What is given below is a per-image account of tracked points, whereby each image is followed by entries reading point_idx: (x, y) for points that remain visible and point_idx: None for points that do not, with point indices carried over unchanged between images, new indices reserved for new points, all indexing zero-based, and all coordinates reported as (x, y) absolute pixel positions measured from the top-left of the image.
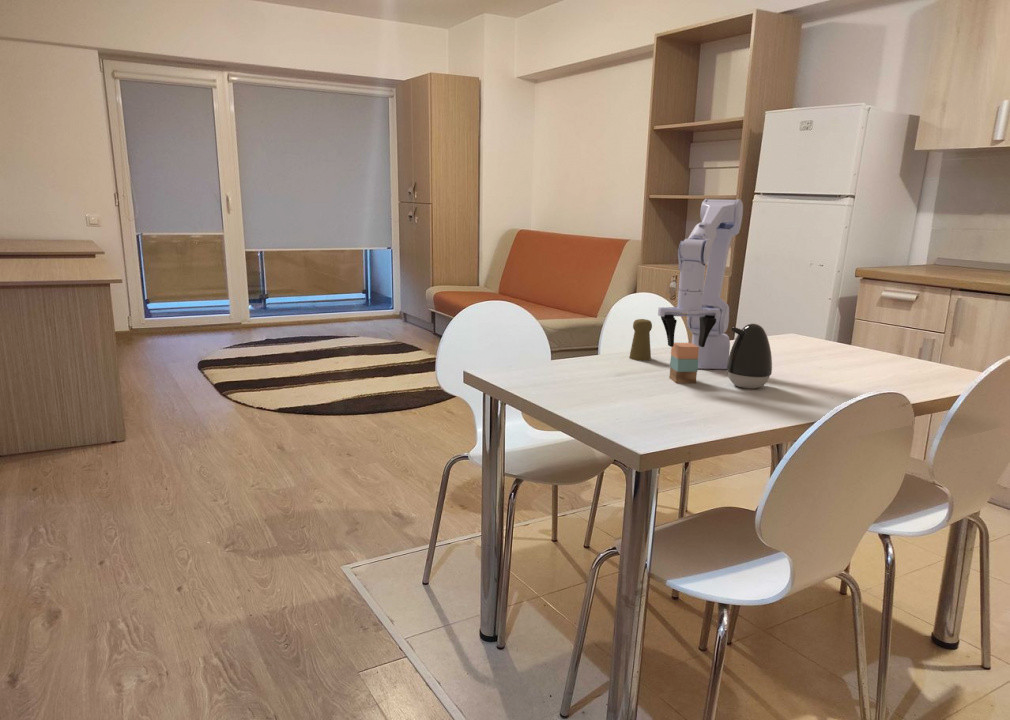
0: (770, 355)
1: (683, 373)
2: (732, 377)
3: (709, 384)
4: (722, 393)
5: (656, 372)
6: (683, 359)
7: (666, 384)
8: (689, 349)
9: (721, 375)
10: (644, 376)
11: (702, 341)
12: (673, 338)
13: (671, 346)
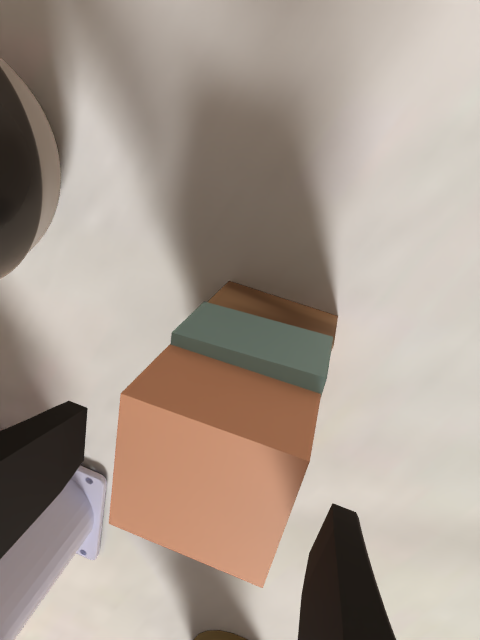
0: None
1: (290, 324)
2: (49, 152)
3: (170, 240)
4: (202, 23)
5: (300, 501)
6: (285, 366)
7: (413, 306)
8: (210, 409)
9: (41, 363)
10: (415, 472)
11: (51, 434)
12: (344, 573)
13: (350, 510)
